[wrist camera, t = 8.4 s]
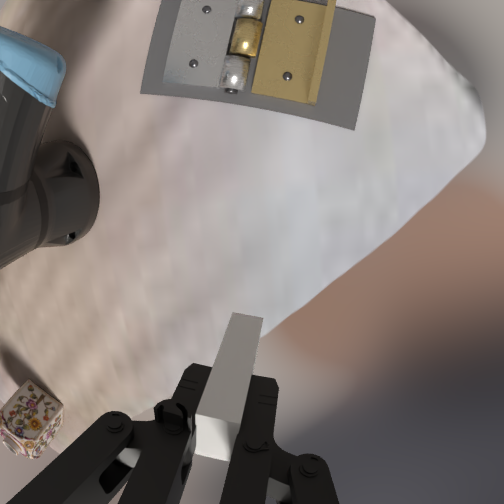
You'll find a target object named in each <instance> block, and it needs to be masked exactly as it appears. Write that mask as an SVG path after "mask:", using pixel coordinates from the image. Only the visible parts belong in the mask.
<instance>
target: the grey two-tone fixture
mask: <svg viewBox="0 0 504 504" xmlns="http://www.w3.org/2000/svg"><path fill="white" fill-rule="evenodd" d="M181 1H182V0H162V1H161V5H160V8H159V12H158V15H157V19H156V23H155V27H154V31H153V35H152V39H151V43H150V47H149V52H148V56H147V61H146V65H145V70H144V75H143V80H142V85H141V91H140V94H153V95H165V96H176V97H185V98H194V99H202V100H210V101H217V102H224V103H231V104H237V105H243V106H249V107H255V108H260V109H266V110H271V111H276V112H281V113H286V114H290V115H295V116H299V117H304V118H308V119H312V120H316V121H320V122H324V123H328V124H332V125H336V126H340V127H343V128H347V129H351V130H355V126H356V121H357V117H358V112H359V107H360V103H361V98H362V93H363V88H364V83H365V78H366V73H367V67H368V62H369V56H370V51H371V45H372V39H373V33H374V27H375V21H376V18H373V17H370V16H367V15H363V14H360V13H356V12H352V11H348V10H344V9H340V8H336V7H335V10H334V16H333V21H332V26H331V31H330V36H329V42H328V47H327V52H326V57H325V62H324V66H323V71H322V76H321V81H320V86H319V91H318V95H317V100H316V104H315V106H312V105H308V104H304V103H299V102H295V101H290V100H285V99H280V98H275V97H270V96H264V95H259V94H253V93H251V91H252V86H253V81H254V76H255V72H256V67H257V62H258V58H259V53H260V49H261V44H262V40H263V35H264V31H265V26H266V22H267V18H268V13H269V9H270V5H271V0H265V3H264V7H263V11H262V15H261V20H260V22H261V23H263V27H262V31H261V36H260V40H259V45H258V49H257V54H256V58H248V59H250V60H251V64H250V69H249V73H248V78H247V83H246V88H245V91H238V93H237V95H236V94H229V93H225V92H224V90H225V89H223V88H221V89H219V88H211V87H203V86H193V85H183V84H171V83H163V82H162V81H163V76H164V71H165V66H166V61H167V57H168V52H169V48H170V44H171V40H172V35H173V31H174V27H175V23H176V20H177V16H178V12H179V8H180V5H181ZM297 1H302V0H297ZM303 2H308V1H303ZM309 3H313V2H309ZM314 4H318V3H314ZM319 5H323V4H319ZM323 6H327V5H323ZM236 22H237V19H236ZM236 22H235V26H236ZM235 26H234V30H235ZM234 30H233V34H232V39H233V35H234ZM232 39H231V43H232ZM231 43H230V47H229V52H230V48H231ZM229 52H228V55H232V54H230V53H229ZM233 56H234V55H233Z"/></svg>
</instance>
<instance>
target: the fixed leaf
mask: <svg viewBox="0 0 504 504" xmlns="http://www.w3.org/2000/svg"><path fill="white" fill-rule="evenodd" d="M264 3H265V0H182V1H181V5H180V8H179V12H178V16H177V20H176V23H175V27H174V31H173V35H172V40H171V44H170V48H169V52H168V57H167V61H166V66H165V71H164V76H163V81H162V82H163V83H171V84H183V85H193V86H203V87H211V88H219V89H221V88H223V89H225V90H224V92H225V93H229V94H236V95H237V93H238V91H245V88H246V83H247V78H248V73H249V69H250V64H251V60H250V59H248V58H245V57H240V56H233V55H228V52H229V47H230V43H231V39H232V34H233V30H234V26H235V22H236V19H240V18H249V19H254V20H257V21H260V20H261V15H262V11H263V7H264Z"/></svg>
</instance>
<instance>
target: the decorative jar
mask: <svg viewBox="0 0 504 504" xmlns="http://www.w3.org/2000/svg"><path fill="white" fill-rule="evenodd" d="M62 426H63V404H61V403H60V402H58V401H57V400H56V399H54V398H53V397H51V396H50V395H49V394H48V393H46V392H45V391H44V390H42V389H41V388H40V387H38V386H37V385H36V384H35V383H33V382H32V381H31V380H30V379H28V380H27V381H26V382H25V383H24V384H23V385H22V386H21V387H20V388H19V389H18V390H17V391H16V392H15V393H14V394H13V396H12V397H11V398H10V399H9V400H8V401H7V403H6V404H5V405H4V406H3V407H2V408H1V410H0V434H1V435H2V437H3V438H4V440H3V443H4V445H5V446H6V447H7V448H8V449H9V450H10V451H11V452H12V453H13V454H15V455H18V454H19V453H21V454H22V455H23V456H25V457H27V458H30V459H36V458H39V457H40V456H41V455H42V454H43V452H44V451H45V449H46V448H47V447H48V445H49V444H50V443H51V441H52V440H53V439H54V437H55V436H56V434H57V433H58V432H59V430H60V429H61V427H62Z"/></svg>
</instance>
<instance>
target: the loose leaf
mask: <svg viewBox="0 0 504 504" xmlns="http://www.w3.org/2000/svg"><path fill="white" fill-rule="evenodd" d="M335 5H336V0H328V3H327V6H323V5H319V4H314V3H309V2H303V1H297V0H271V5H270V9H269V13H268V18H267V22H266V26H265V31H264V35H263V40H262V44H261V49H260V53H259V58H258V62H257V67H256V72H255V76H254V81H253V86H252V91H251V93H253V94H259V95H264V96H270V97H275V98H280V99H285V100H290V101H295V102H299V103H304V104H308V105H312V106H315V104H316V100H317V95H318V91H319V86H320V81H321V76H322V71H323V66H324V62H325V57H326V52H327V47H328V42H329V36H330V31H331V26H332V21H333V16H334V10H335ZM262 27H263V23H261V22H260V21H257V20H254V19H249V18H240V19H237V22H236V26H235V30H234V35H233V39H232V43H231V48H230V52H229V53H230V54H232V55H234V56H240V57H245V58H256V54H257V49H258V45H259V40H260V36H261V31H262Z"/></svg>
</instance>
